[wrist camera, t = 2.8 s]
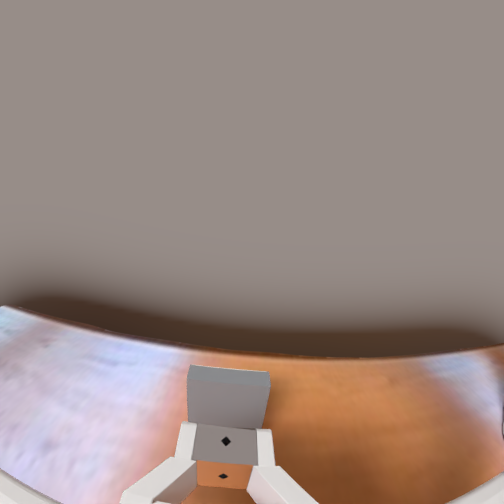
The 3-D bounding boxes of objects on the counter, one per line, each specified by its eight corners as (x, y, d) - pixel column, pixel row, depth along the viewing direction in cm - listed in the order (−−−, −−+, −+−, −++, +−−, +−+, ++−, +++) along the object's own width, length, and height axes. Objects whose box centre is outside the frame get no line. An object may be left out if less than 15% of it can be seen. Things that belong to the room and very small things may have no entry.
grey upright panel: (255, 455, 25) (270, 386, 22) (189, 449, 25) (186, 378, 22) (254, 440, 27) (268, 369, 24) (192, 434, 27) (190, 362, 24)
